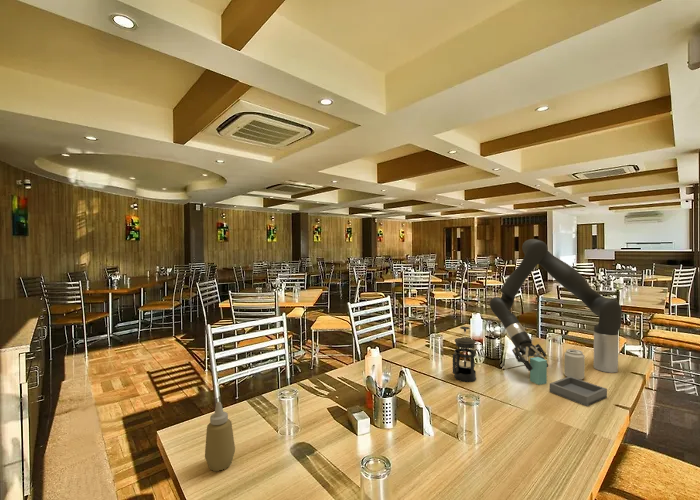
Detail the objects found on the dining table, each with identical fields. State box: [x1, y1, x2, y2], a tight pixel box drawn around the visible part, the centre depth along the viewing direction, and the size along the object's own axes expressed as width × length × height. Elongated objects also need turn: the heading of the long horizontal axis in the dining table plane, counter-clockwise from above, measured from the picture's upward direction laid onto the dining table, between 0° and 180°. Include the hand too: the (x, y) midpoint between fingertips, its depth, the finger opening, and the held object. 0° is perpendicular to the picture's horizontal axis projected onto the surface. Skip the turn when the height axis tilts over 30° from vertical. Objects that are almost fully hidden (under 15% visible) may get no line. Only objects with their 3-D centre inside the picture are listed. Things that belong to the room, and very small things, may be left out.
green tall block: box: [529, 356, 548, 386], centre depth 149 cm, size 4×4×10 cm
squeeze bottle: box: [204, 401, 236, 472], centre depth 97 cm, size 8×8×18 cm
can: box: [563, 348, 586, 381], centre depth 153 cm, size 8×8×12 cm
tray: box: [549, 376, 608, 407], centre depth 137 cm, size 14×14×4 cm
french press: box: [452, 325, 477, 383], centre depth 154 cm, size 12×9×23 cm
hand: (538, 368), depth 148 cm, fingers open, 8 cm apart
